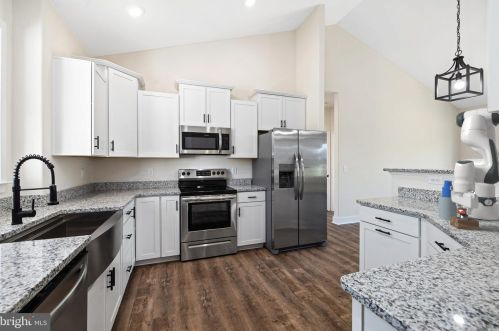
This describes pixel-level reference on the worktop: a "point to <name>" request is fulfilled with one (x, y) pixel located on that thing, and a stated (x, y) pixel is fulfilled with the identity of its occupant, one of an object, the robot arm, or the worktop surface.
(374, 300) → the worktop surface
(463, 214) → the copper cross-head bolt
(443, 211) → the spray bottle
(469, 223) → the block
